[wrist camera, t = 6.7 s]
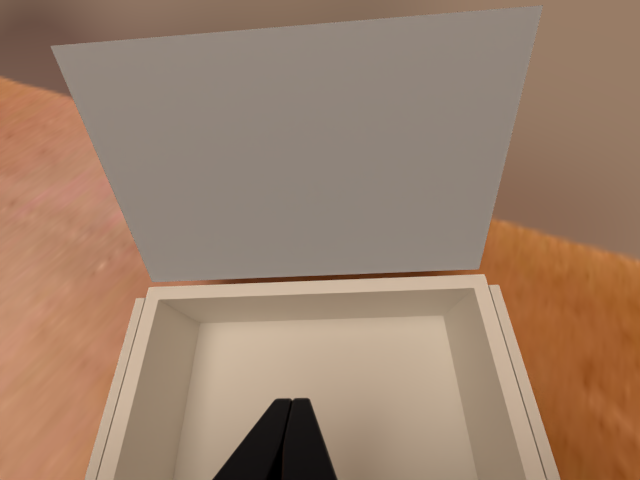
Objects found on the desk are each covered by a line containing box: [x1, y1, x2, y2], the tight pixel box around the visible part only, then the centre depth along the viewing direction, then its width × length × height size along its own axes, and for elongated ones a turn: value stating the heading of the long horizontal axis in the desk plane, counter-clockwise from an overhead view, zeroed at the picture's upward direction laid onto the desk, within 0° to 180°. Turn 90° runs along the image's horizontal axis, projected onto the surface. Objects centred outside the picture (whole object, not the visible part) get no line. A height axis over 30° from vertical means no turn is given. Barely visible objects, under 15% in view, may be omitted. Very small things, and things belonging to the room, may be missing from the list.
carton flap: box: [51, 5, 543, 282], centre depth 11 cm, size 9×14×1 cm
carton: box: [84, 274, 560, 480], centre depth 13 cm, size 11×16×5 cm
